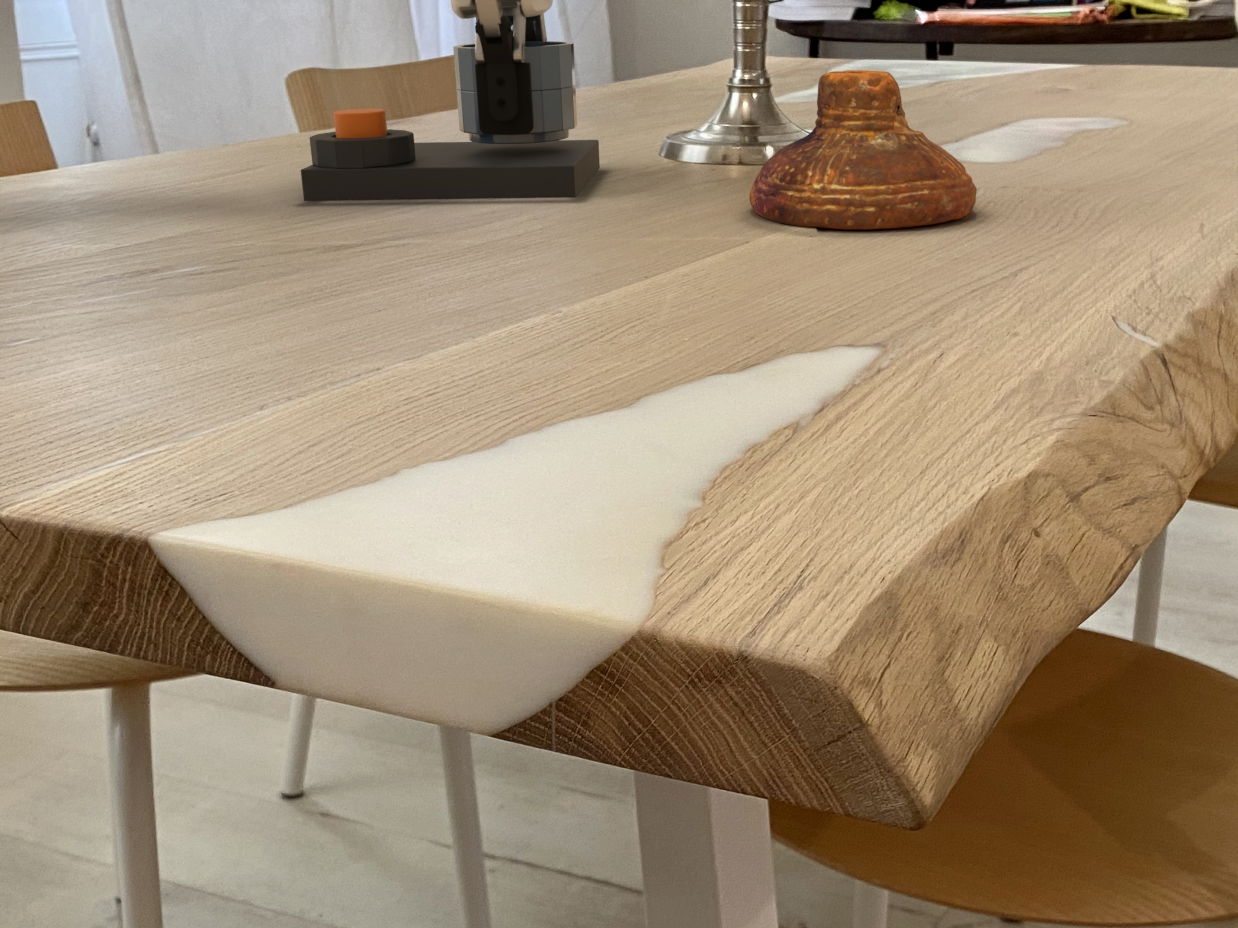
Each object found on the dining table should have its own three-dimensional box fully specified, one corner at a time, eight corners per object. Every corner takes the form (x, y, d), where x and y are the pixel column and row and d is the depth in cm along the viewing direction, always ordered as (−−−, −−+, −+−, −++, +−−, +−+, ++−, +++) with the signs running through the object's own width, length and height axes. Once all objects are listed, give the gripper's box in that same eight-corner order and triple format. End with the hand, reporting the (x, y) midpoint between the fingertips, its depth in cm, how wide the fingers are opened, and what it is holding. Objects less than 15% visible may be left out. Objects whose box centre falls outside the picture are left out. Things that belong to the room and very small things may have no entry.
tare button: (330, 144, 85) (327, 113, 84) (344, 138, 88) (341, 108, 87) (380, 143, 85) (378, 112, 84) (393, 137, 87) (390, 108, 87)
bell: (795, 192, 84) (796, 61, 81) (1001, 202, 79) (1009, 63, 76) (711, 224, 74) (709, 76, 71) (940, 238, 69) (946, 79, 66)
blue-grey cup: (450, 146, 87) (443, 49, 85) (473, 133, 94) (467, 42, 92) (569, 144, 87) (564, 46, 85) (583, 131, 93) (579, 40, 92)
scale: (303, 202, 85) (296, 141, 83) (362, 172, 97) (356, 118, 95) (575, 198, 83) (572, 136, 82) (599, 169, 96) (597, 114, 94)
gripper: (464, -172, 92) (484, 113, 98) (399, -201, 76) (427, 143, 82) (581, -176, 92) (593, 111, 98) (540, -206, 76) (558, 141, 82)
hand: (517, 124), depth 90 cm, fingers closed on blue-grey cup, 7 cm apart
